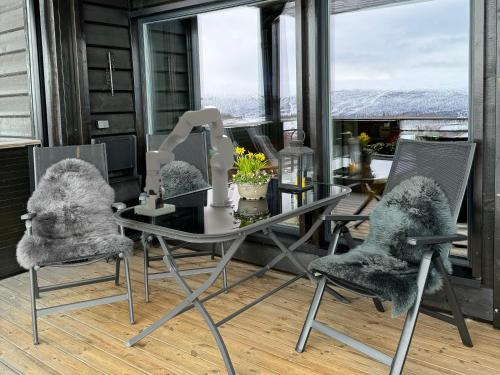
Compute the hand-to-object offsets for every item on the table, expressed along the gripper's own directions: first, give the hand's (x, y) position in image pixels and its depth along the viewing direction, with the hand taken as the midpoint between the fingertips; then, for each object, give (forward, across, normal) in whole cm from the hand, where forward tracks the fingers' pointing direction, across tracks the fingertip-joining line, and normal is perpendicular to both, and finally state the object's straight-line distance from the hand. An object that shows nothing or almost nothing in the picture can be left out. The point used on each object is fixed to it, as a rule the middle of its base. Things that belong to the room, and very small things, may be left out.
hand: (155, 203), depth 294 cm
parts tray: (+5, 0, 0) cm, 5 cm away
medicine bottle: (+4, 0, 0) cm, 4 cm away
